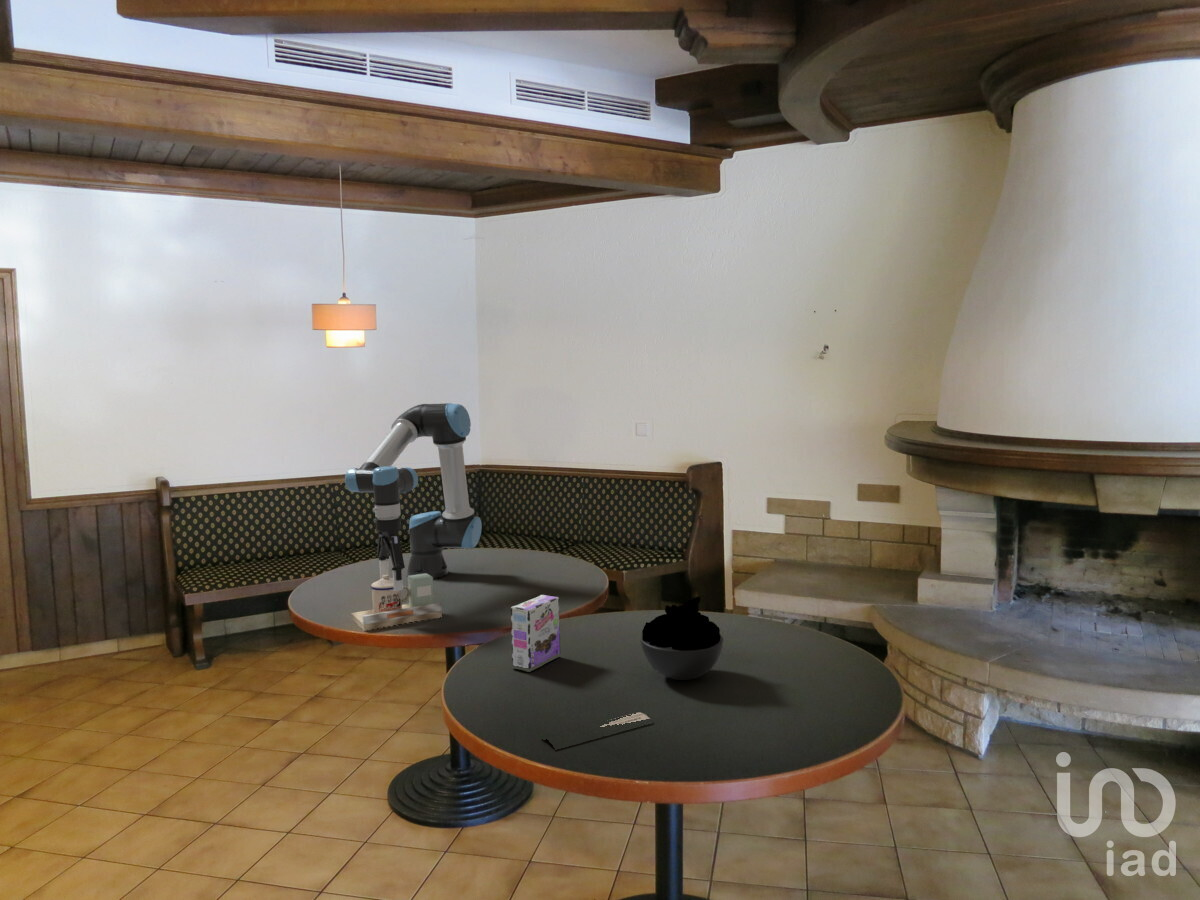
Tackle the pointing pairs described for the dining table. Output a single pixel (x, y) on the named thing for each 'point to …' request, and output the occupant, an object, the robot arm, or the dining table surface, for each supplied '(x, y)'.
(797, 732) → the dining table surface
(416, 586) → the tin
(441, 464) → the robot arm
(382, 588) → the teacup with lid
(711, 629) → the bowl of black rocks
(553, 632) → the candy box
